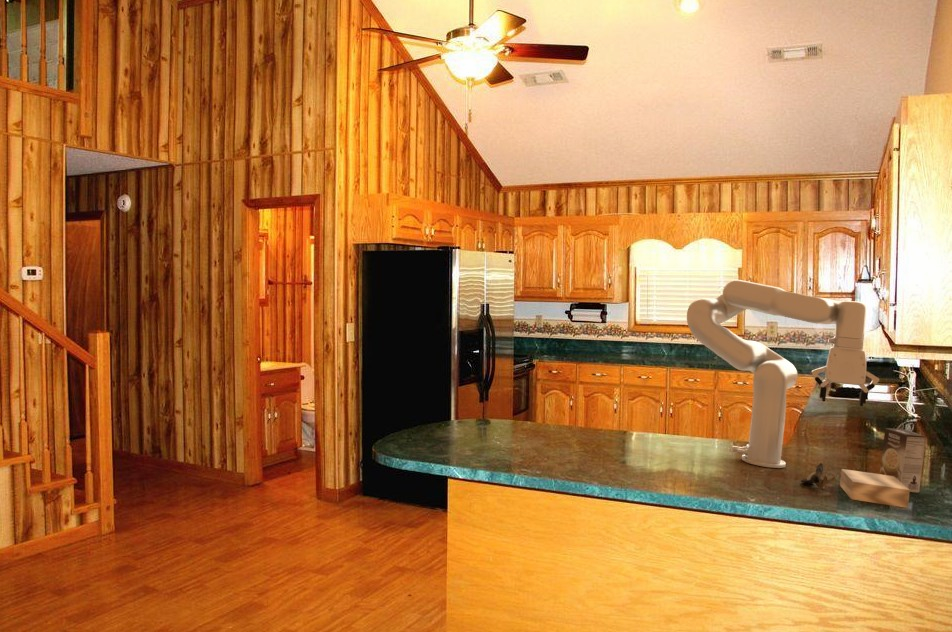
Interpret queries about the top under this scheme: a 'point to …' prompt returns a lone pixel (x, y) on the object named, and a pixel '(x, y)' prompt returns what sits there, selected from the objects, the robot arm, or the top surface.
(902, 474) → the coffee box
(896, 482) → the maple block
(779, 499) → the top surface
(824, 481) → the eagle figurine
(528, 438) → the top surface
